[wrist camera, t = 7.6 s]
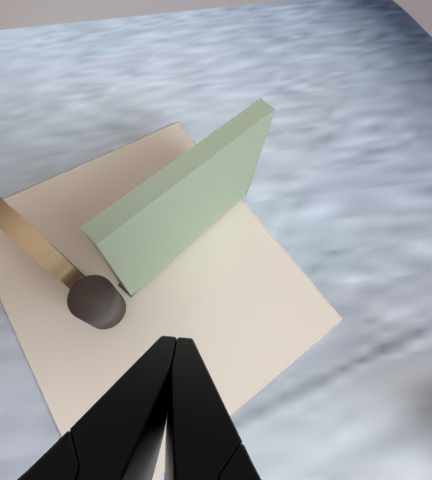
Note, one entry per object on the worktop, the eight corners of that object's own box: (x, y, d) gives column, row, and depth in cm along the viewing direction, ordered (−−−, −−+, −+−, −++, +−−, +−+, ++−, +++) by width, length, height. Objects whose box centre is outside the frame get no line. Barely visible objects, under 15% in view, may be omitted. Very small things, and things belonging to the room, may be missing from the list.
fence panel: (131, 295, 19) (96, 244, 11) (120, 284, 19) (80, 227, 12) (246, 194, 23) (275, 109, 15) (236, 186, 23) (260, 98, 16)
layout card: (103, 522, 15) (101, 526, 14) (-34, 219, 20) (-38, 216, 20) (340, 320, 20) (343, 319, 19) (177, 125, 26) (177, 121, 25)
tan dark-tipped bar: (134, 307, 19) (112, 278, 13) (104, 337, 18) (68, 320, 12) (22, 205, 21) (-35, 145, 15) (-9, 228, 20) (-82, 172, 15)
